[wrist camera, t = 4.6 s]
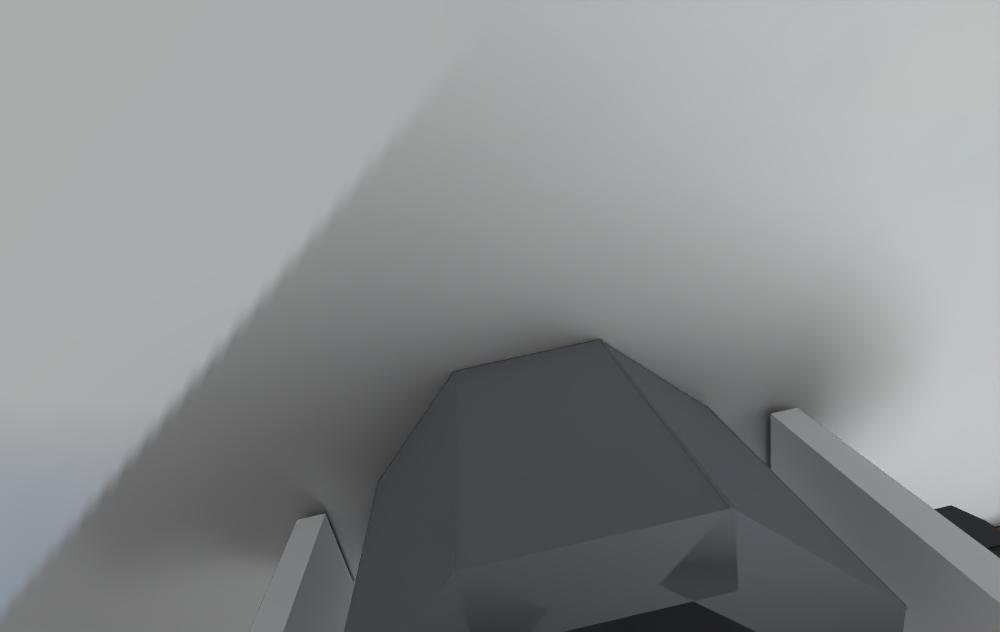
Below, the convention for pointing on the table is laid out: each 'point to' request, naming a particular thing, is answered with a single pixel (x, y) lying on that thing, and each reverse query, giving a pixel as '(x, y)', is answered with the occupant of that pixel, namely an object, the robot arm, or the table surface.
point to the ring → (597, 516)
